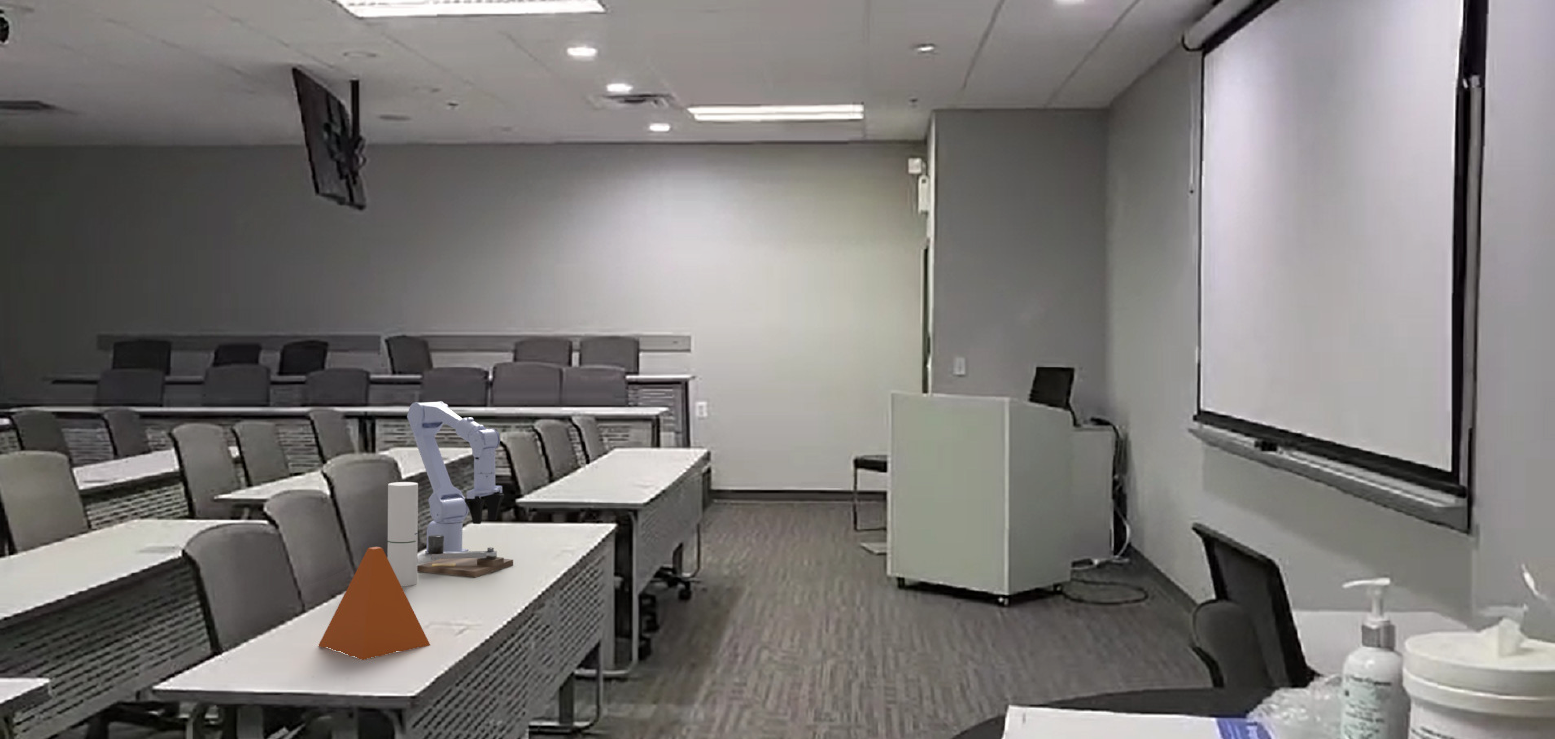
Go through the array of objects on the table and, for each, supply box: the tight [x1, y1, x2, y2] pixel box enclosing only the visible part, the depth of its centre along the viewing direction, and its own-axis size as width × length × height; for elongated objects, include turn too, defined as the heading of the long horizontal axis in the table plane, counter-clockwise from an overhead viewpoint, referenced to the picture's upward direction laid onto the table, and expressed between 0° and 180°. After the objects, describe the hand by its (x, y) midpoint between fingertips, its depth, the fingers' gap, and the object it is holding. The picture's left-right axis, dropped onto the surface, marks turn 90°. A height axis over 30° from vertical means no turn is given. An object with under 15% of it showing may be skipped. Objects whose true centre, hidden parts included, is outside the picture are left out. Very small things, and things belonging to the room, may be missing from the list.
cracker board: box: [417, 556, 514, 578], centre depth 332 cm, size 18×18×3 cm
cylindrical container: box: [387, 481, 419, 587], centre depth 311 cm, size 7×7×25 cm
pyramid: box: [318, 546, 431, 661], centre depth 252 cm, size 16×16×20 cm
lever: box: [427, 535, 498, 560], centre depth 329 cm, size 18×4×6 cm, turn 102°
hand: (484, 521), depth 345 cm, fingers open, 7 cm apart
